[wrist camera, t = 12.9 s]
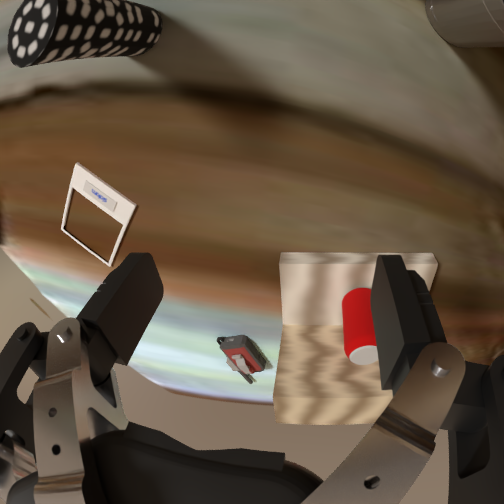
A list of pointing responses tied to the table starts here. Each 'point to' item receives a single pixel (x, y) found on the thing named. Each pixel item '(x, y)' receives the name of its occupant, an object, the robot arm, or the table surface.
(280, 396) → the counter stand
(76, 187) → the photo frame
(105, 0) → the white-spotted black cylinder
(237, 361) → the walkie-talkie
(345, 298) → the beverage can
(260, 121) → the table surface
